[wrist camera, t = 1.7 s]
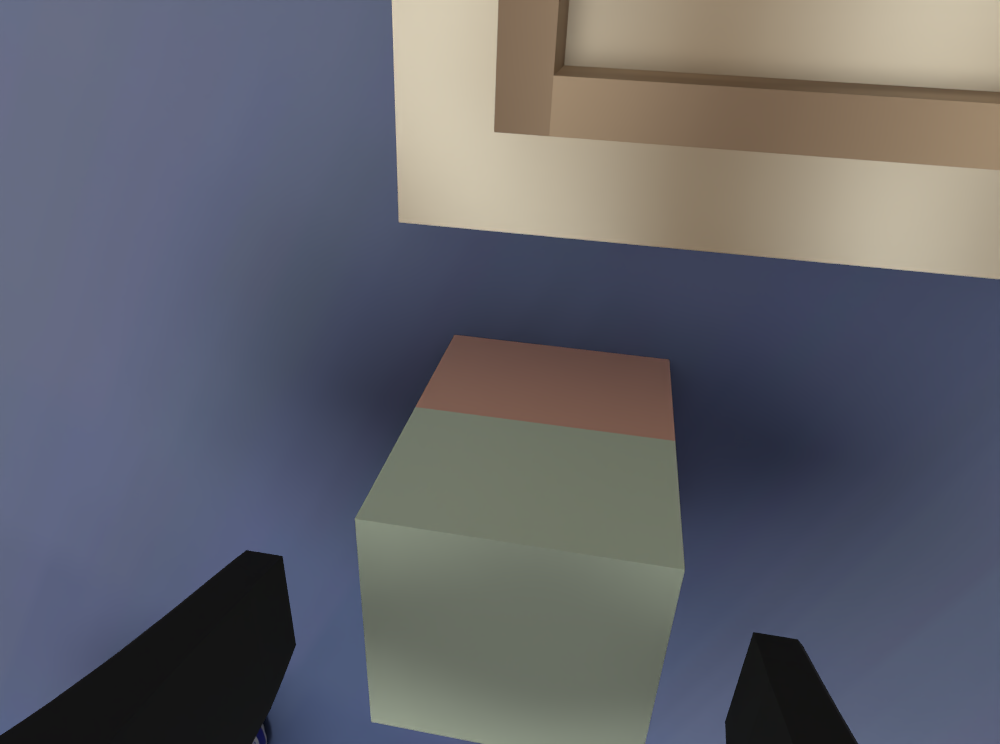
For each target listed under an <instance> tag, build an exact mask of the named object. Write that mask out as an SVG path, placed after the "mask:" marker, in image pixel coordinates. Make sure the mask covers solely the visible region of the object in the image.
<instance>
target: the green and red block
mask: <svg viewBox="0 0 1000 744" xmlns="http://www.w3.org/2000/svg"><path fill="white" fill-rule="evenodd" d="M355 526H356V539H357V551H358V563H359V576H360V588H361V600H362V613H363V625H364V637H365V650H366V662H367V675H368V687H369V699H370V712H371V722H375V723H380V724H385V725H390V726H395V727H401V728H406V729H411V730H416V731H421V732H426V733H431V734H436V735H442V736H447V737H452V738H457V739H462V740H467V741H472V742H477V743H483V744H645V741H646V736H647V732H648V728H649V723H650V719H651V715H652V710H653V706H654V702H655V697H656V693H657V688H658V684H659V680H660V675H661V671H662V667H663V662H664V658H665V654H666V649H667V645H668V641H669V636H670V632H671V627H672V623H673V619H674V614H675V610H676V606H677V601H678V597H679V593H680V588H681V584H682V580H683V575H684V571H685V567H684V553H683V539H682V526H681V512H680V498H679V485H678V471H677V458H676V444H675V430H674V417H673V403H672V390H671V376H670V362H669V360H668V359H660V358H651V357H642V356H634V355H625V354H617V353H608V352H599V351H591V350H582V349H573V348H565V347H556V346H548V345H539V344H530V343H522V342H513V341H504V340H496V339H487V338H479V337H470V336H461V335H454V337H453V338H452V340H451V342H450V344H449V346H448V348H447V349H446V351H445V353H444V355H443V357H442V359H441V361H440V362H439V364H438V366H437V368H436V370H435V372H434V374H433V375H432V377H431V379H430V381H429V383H428V385H427V386H426V388H425V390H424V392H423V394H422V396H421V398H420V399H419V401H418V403H417V405H416V407H415V409H414V410H413V412H412V414H411V416H410V418H409V420H408V422H407V423H406V425H405V427H404V429H403V431H402V433H401V435H400V436H399V438H398V440H397V442H396V444H395V446H394V447H393V449H392V451H391V453H390V455H389V457H388V459H387V460H386V462H385V464H384V466H383V468H382V470H381V471H380V473H379V475H378V477H377V479H376V481H375V483H374V484H373V486H372V488H371V490H370V492H369V494H368V496H367V497H366V499H365V501H364V503H363V505H362V507H361V508H360V510H359V512H358V514H357V516H356V518H355Z"/></svg>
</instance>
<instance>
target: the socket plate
mask: <svg viewBox="0 0 1000 744" xmlns="http://www.w3.org/2000/svg"><path fill="white" fill-rule="evenodd" d="M392 19H393V51H394V83H395V114H396V146H397V178H398V210H399V222H402V223H412V224H423V225H434V226H444V227H455V228H465V229H476V230H486V231H497V232H507V233H518V234H528V235H539V236H549V237H560V238H570V239H581V240H592V241H602V242H613V243H623V244H634V245H644V246H655V247H665V248H676V249H686V250H697V251H707V252H718V253H728V254H739V255H749V256H760V257H771V258H781V259H792V260H802V261H813V262H823V263H834V264H844V265H855V266H865V267H876V268H886V269H897V270H907V271H918V272H929V273H939V274H950V275H960V276H971V277H981V278H992V279H1000V0H392Z"/></svg>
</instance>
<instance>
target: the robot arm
mask: <svg viewBox="0 0 1000 744" xmlns="http://www.w3.org/2000/svg"><path fill="white" fill-rule="evenodd" d="M295 646H296V642H295V636H294V629H293V623H292V616H291V610H290V603H289V596H288V590H287V583H286V577H285V570H284V564H283V557H282V556H278V555H272V554H266V553H260V552H254V551H247V550H246V551H245V552H244V553H242V554H241V555H240V556H238V557H237V558H236V559H235V560H233V561H232V562H231V563H230V564H228V565H227V566H226V567H224V568H223V569H222V570H221V571H220V572H218V573H217V574H216V575H215V576H213V577H212V578H211V579H210V580H208V581H207V582H206V583H205V584H204V585H202V586H201V587H200V588H199V589H197V590H196V591H195V592H194V593H193V594H191V595H190V596H189V597H188V598H186V599H185V600H184V601H183V602H181V603H180V604H179V605H178V606H176V607H175V608H174V609H173V610H171V611H170V612H169V613H168V614H167V615H165V616H164V617H163V618H162V619H160V620H159V621H158V622H156V623H155V624H154V625H153V626H151V627H150V628H149V629H147V630H146V631H145V632H144V633H142V634H141V635H140V636H138V637H137V638H136V639H135V640H133V641H132V642H131V643H130V644H128V645H127V646H126V647H124V648H123V649H122V650H121V651H119V652H118V653H117V654H115V655H114V656H113V657H111V658H110V659H109V660H107V661H106V662H105V663H103V664H102V665H101V666H99V667H98V668H96V669H95V670H94V671H92V672H91V673H90V674H88V675H87V676H85V677H84V678H83V679H81V680H80V681H78V682H77V683H76V684H74V685H73V686H72V687H70V688H69V689H67V690H66V691H65V692H63V693H62V694H61V695H59V696H58V697H56V698H55V699H54V700H52V701H51V702H49V703H48V704H46V705H45V706H44V707H42V708H41V709H39V710H38V711H36V712H35V713H33V714H32V715H30V716H29V717H27V718H26V719H25V720H23V721H22V722H20V723H19V724H17V725H16V726H14V727H12V728H11V729H9V730H8V731H6V732H5V733H3V734H2V735H0V744H252V743H253V741H254V739H255V737H256V736H257V734H258V732H259V730H260V728H261V726H262V724H263V722H264V720H265V718H266V716H267V715H268V713H269V711H270V709H271V706H272V704H273V702H274V699H275V697H276V694H277V692H278V689H279V687H280V685H281V682H282V680H283V677H284V674H285V672H286V669H287V667H288V664H289V661H290V659H291V656H292V654H293V651H294V648H295ZM725 727H726V744H858V743H857V741H856V739H855V738H854V736H853V734H852V733H851V731H850V729H849V727H848V726H847V724H846V722H845V721H844V719H843V717H842V715H841V714H840V712H839V710H838V709H837V707H836V705H835V703H834V701H833V700H832V698H831V696H830V694H829V693H828V691H827V689H826V687H825V685H824V684H823V682H822V680H821V678H820V676H819V675H818V673H817V671H816V669H815V667H814V665H813V664H812V662H811V660H810V658H809V656H808V654H807V653H806V651H805V649H804V647H803V646H802V644H801V643H800V642H799V641H798V639H792V638H786V637H779V636H773V635H767V634H761V633H755V632H753V635H752V638H751V642H750V645H749V648H748V651H747V654H746V657H745V661H744V664H743V667H742V670H741V673H740V677H739V680H738V683H737V686H736V689H735V692H734V696H733V699H732V702H731V705H730V708H729V711H728V715H727V718H726V721H725Z"/></svg>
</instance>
